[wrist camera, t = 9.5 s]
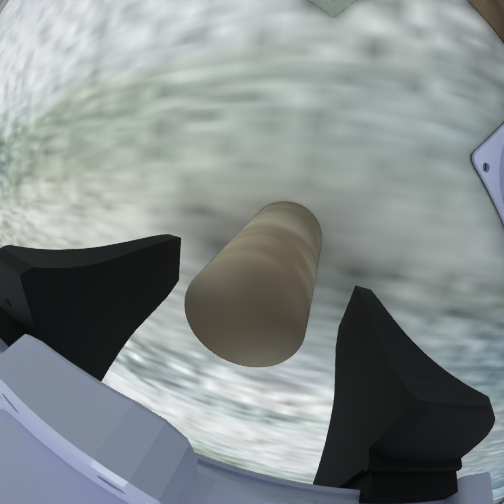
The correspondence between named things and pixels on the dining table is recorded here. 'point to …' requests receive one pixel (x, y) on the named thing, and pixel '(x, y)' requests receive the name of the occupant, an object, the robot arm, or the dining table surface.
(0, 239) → the dining table surface
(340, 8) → the holder
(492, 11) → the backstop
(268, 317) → the dowel
